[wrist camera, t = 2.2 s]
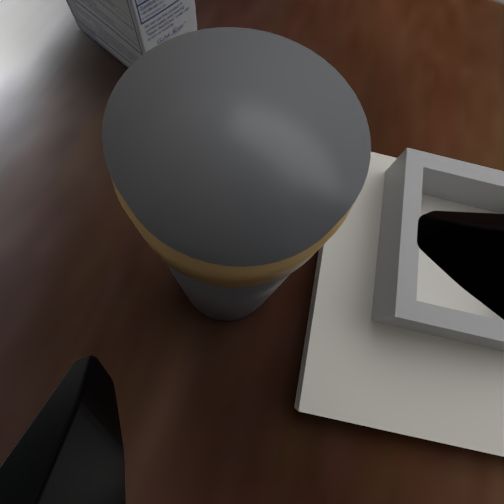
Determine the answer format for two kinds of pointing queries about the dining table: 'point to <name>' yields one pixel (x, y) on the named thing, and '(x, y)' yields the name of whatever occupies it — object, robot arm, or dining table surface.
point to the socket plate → (405, 313)
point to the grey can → (234, 160)
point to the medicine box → (133, 23)
